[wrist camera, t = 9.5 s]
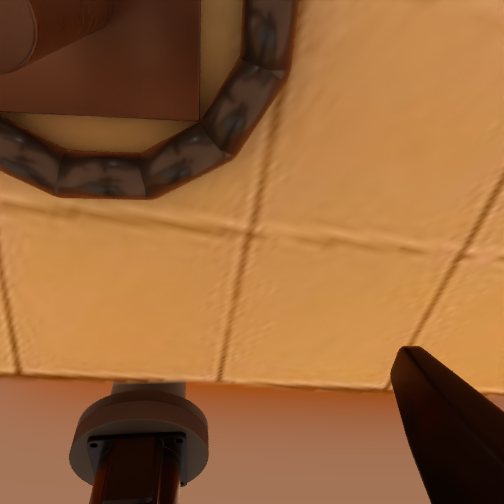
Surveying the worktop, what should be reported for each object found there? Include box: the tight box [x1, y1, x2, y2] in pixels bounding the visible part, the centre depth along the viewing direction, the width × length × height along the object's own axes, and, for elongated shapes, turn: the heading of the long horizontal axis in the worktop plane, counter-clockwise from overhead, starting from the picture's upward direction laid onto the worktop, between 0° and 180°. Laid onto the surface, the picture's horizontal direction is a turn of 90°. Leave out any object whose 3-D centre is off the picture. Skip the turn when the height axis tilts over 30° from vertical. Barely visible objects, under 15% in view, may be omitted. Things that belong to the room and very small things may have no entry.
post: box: [0, 0, 201, 121], centre depth 11 cm, size 8×8×9 cm
